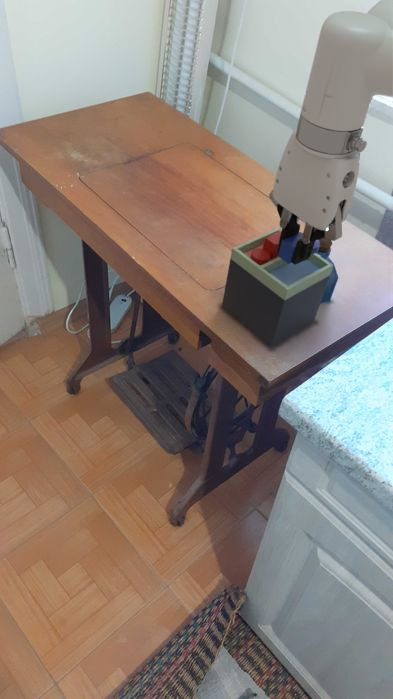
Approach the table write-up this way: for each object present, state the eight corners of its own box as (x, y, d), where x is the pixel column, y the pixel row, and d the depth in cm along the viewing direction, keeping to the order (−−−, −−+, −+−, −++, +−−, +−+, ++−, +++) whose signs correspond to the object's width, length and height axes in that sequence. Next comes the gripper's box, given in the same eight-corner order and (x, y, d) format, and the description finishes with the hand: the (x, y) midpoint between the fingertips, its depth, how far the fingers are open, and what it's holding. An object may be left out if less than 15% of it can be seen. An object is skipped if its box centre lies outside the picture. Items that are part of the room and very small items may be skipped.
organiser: (276, 237, 89) (278, 227, 88) (330, 275, 84) (333, 265, 82) (230, 258, 84) (232, 248, 83) (284, 300, 79) (287, 290, 77)
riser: (263, 288, 97) (276, 237, 89) (312, 325, 92) (330, 275, 84) (221, 310, 92) (230, 258, 84) (269, 351, 87) (284, 300, 79)
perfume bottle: (281, 288, 98) (297, 233, 89) (311, 283, 100) (328, 228, 91) (298, 311, 94) (316, 255, 85) (328, 304, 96) (348, 249, 87)
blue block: (290, 265, 77) (295, 249, 75) (275, 254, 78) (279, 238, 76) (322, 249, 80) (327, 234, 78) (307, 239, 82) (312, 223, 80)
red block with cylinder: (277, 243, 87) (281, 228, 85) (290, 252, 86) (294, 237, 84) (246, 257, 84) (249, 242, 82) (259, 267, 82) (263, 252, 80)
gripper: (399, 153, 63) (351, 276, 77) (299, 101, 71) (271, 221, 84) (361, 169, 59) (316, 295, 73) (259, 112, 67) (236, 236, 80)
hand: (292, 254), depth 78 cm, fingers closed on blue block, 2 cm apart
